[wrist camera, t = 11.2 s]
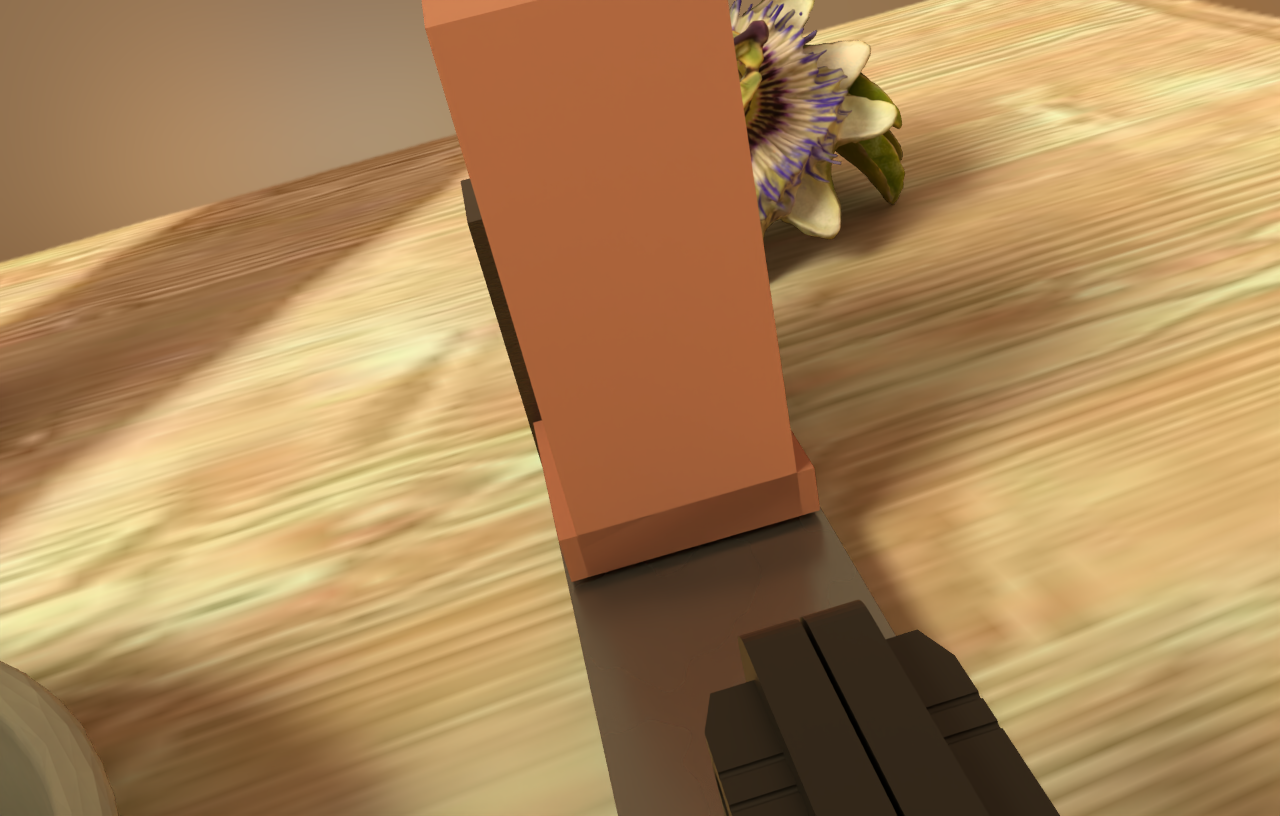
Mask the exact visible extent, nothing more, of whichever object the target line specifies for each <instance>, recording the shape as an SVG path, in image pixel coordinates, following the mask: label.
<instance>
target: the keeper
mask: <svg viewBox="0 0 1280 816" xmlns="http://www.w3.org/2000/svg"><path fill="white" fill-rule="evenodd" d="M422 7H423V15H424V22H425V29H426V33H427V36H428V39H429V43H430V46H431V49H432V53H433V56H434V60H435V63H436V66H437V70H438V73H439V76H440V80H441V83H442V86H443V90H444V93H445V96H446V100H447V103H448V106H449V110H450V113H451V117H452V120H453V123H454V126H455V130H456V133H457V137H458V140H459V143H460V147H461V150H462V153H463V157H464V160H465V163H466V167H467V170H468V174H469V177H470V180H471V184H472V187H473V190H474V194H475V197H476V200H477V204H478V207H479V210H480V214H481V217H482V220H483V224H484V227H485V230H486V234H487V237H488V241H489V244H490V247H491V251H492V254H493V257H494V261H495V264H496V267H497V271H498V274H499V277H500V281H501V284H502V287H503V291H504V294H505V298H506V301H507V304H508V308H509V311H510V314H511V318H512V321H513V324H514V328H515V331H516V334H517V338H518V341H519V344H520V348H521V351H522V354H523V358H524V361H525V365H526V368H527V371H528V375H529V378H530V381H531V385H532V388H533V391H534V395H535V398H536V401H537V405H538V408H539V411H540V415H541V418H542V420H541V421H538V422H534V423H533V425H534V429H535V434H536V438H537V443H538V448H539V452H540V457H541V461H542V466H543V471H544V475H545V480H546V484H547V489H548V494H549V498H550V503H551V508H552V512H553V517H554V521H555V526H556V531H557V535H558V540H559V543H560V547H561V550H562V553H563V556H564V559H565V563H566V566H567V569H568V572H569V576H570V579H571V582H573V581H577V580H580V579H584V578H587V577H591V576H594V575H598V574H601V573H605V572H608V571H611V570H615V569H618V568H622V567H625V566H629V565H632V564H636V563H639V562H643V561H646V560H649V559H653V558H656V557H660V556H663V555H667V554H670V553H674V552H677V551H681V550H684V549H687V548H691V547H694V546H698V545H701V544H705V543H708V542H712V541H715V540H719V539H722V538H725V537H729V536H732V535H736V534H739V533H743V532H746V531H750V530H753V529H757V528H760V527H763V526H767V525H770V524H774V523H777V522H781V521H784V520H788V519H791V518H795V517H798V516H801V515H805V514H808V513H812V512H815V511H819V510H820V506H819V499H818V491H817V484H816V477H815V469H814V467H813V465H812V463H811V462H810V460H809V458H808V457H807V455H806V453H805V452H804V450H803V449H802V447H801V445H800V444H799V442H798V440H797V439H796V437H795V436H794V434H793V432H792V431H791V429H790V422H789V415H788V408H787V401H786V395H785V388H784V381H783V374H782V367H781V360H780V354H779V347H778V340H777V333H776V326H775V319H774V313H773V306H772V299H771V292H770V285H769V278H768V272H767V265H766V258H765V251H764V244H763V237H762V231H761V224H760V217H759V210H758V203H757V196H756V190H755V183H754V176H753V169H752V162H751V155H750V149H749V142H748V135H747V128H746V121H745V114H744V108H743V101H742V94H741V87H740V80H739V73H738V67H737V60H736V53H735V46H734V39H733V32H732V26H731V19H730V12H729V5H728V0H422Z"/></svg>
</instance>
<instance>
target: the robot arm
mask: <svg viewBox="0 0 1280 816" xmlns="http://www.w3.org/2000/svg"><path fill="white" fill-rule="evenodd" d="M738 645H739V650H740V655H741V660H742V664H743V669H744V674H745V679H746V683H743V684H739V685H736V686H733V687H730V688H726V689H723V690H720V691H716V692H713V693H710V698H709V705H708V712H707V719H706V725H705V732H704V734H705V738H706V742H707V746H708V750H709V754H710V758H711V762H712V766H713V770H714V774H715V778H716V783H717V787H718V791H719V795H720V799H721V803H722V807H723V811H724V815H725V816H1060V815H1059V813H1058V812H1057V810H1056V809H1055V807H1054V806H1053V804H1052V803H1051V801H1050V800H1049V798H1048V797H1047V795H1046V794H1045V792H1044V791H1043V789H1042V788H1041V786H1040V784H1039V783H1038V781H1037V780H1036V778H1035V777H1034V775H1033V774H1032V772H1031V771H1030V769H1029V768H1028V766H1027V765H1026V763H1025V762H1024V760H1023V759H1022V757H1021V756H1020V754H1019V753H1018V751H1017V750H1016V748H1015V746H1014V745H1013V743H1012V742H1011V740H1010V739H1009V737H1008V736H1007V734H1006V733H1005V731H1004V730H1003V728H1000V727H999V725H998V721H997V719H996V718H995V716H994V715H993V713H992V711H991V710H990V708H989V707H988V705H987V704H986V702H985V701H984V699H983V698H982V699H981V698H980V696H979V693H978V690H977V689H976V687H975V686H974V684H973V683H972V681H971V680H970V678H969V676H968V675H967V673H966V672H965V670H964V669H963V667H962V666H961V664H960V663H959V661H958V660H957V658H956V657H955V655H953V654H952V653H950V652H949V651H948V650H946V649H945V648H943V647H942V646H940V645H939V644H937V643H936V642H935V641H933V640H932V639H930V638H929V637H927V636H926V635H924V634H923V633H922V632H920V631H919V630H915V631H911V632H908V633H905V634H901V635H898V636H895V637H892V638H888V639H885V637H884V636H883V634H882V632H881V631H880V629H879V627H878V625H877V624H876V622H875V620H874V619H873V617H872V615H871V614H870V612H869V610H868V609H867V607H866V606H865V604H864V603H863V602H862V601H861V600H859V599H858V600H855V601H852V602H848V603H845V604H842V605H838V606H835V607H832V608H829V609H825V610H822V611H819V612H815V613H812V614H809V615H805V616H802V617H800V621H799V620H798V619H793V620H790V621H787V622H783V623H780V624H777V625H773V626H770V627H767V628H764V629H760V630H757V631H754V632H750V633H747V634H744V635H740V636H738Z"/></svg>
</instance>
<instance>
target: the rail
mask: <svg viewBox="0 0 1280 816" xmlns="http://www.w3.org/2000/svg"><path fill="white" fill-rule="evenodd" d="M461 186H462V192H463V198H464V204H465V210H466V216H467V222H468V226H469V229H470V232H471V235H472V239H473V242H474V245H475V248H476V252H477V255H478V258H479V261H480V265H481V268H482V271H483V275H484V278H485V281H486V284H487V288H488V291H489V294H490V297H491V301H492V304H493V307H494V310H495V314H496V317H497V320H498V323H499V327H500V330H501V333H502V336H503V340H504V343H505V346H506V349H507V353H508V356H509V359H510V362H511V366H512V369H513V372H514V376H515V379H516V382H517V385H518V389H519V392H520V395H521V398H522V402H523V405H524V408H525V411H526V415H527V418H528V421H529V424H530V428H531V431H532V434H533V437H534V441H535V444H536V447H537V450H538V454H539V457H540V452H539V448H538V443H537V438H536V434H535V429H534V425H533V423H534V422H538V421H541V420H542V418H541V415H540V411H539V408H538V405H537V401H536V398H535V395H534V391H533V388H532V385H531V381H530V378H529V375H528V371H527V368H526V365H525V361H524V358H523V354H522V351H521V348H520V344H519V341H518V338H517V334H516V331H515V328H514V324H513V321H512V318H511V314H510V311H509V308H508V304H507V301H506V298H505V294H504V291H503V287H502V284H501V281H500V277H499V274H498V271H497V267H496V264H495V261H494V257H493V254H492V251H491V247H490V244H489V241H488V237H487V234H486V230H485V227H484V224H483V220H482V217H481V214H480V210H479V207H478V204H477V200H476V197H475V194H474V190H473V187H472V184H471V180H470V179H466V180H462V181H461ZM540 460H541V457H540ZM541 463H542V461H541ZM542 467H543V466H542ZM544 476H545V475H544ZM546 485H547V484H546ZM547 490H548V489H547ZM549 499H550V498H549ZM552 513H553V512H552ZM554 522H555V521H554ZM557 536H558V535H557ZM559 545H560V543H559ZM560 550H561V547H560ZM561 554H562V559H563V563H564V568H565V573H566V577H567V582H568V586H569V591H570V596H571V600H572V605H573V610H574V614H575V619H576V623H577V628H578V633H579V637H580V642H581V646H582V651H583V656H584V660H585V665H586V670H587V674H588V679H589V683H590V688H591V693H592V697H593V702H594V706H595V711H596V716H597V720H598V725H599V730H600V734H601V739H602V743H603V748H604V753H605V757H606V762H607V766H608V771H609V776H610V780H611V785H612V790H613V794H614V799H615V803H616V808H617V813H618V816H725V815H724V811H723V807H722V803H721V799H720V795H719V791H718V787H717V783H716V778H715V774H714V770H713V766H712V762H711V758H710V754H709V750H708V746H707V742H706V738H705V734H704V732H705V725H706V719H707V712H708V705H709V698H710V693H713V692H716V691H720V690H723V689H726V688H730V687H733V686H736V685H739V684H743V683H746V679H745V674H744V669H743V664H742V660H741V655H740V650H739V645H738V636H740V635H744V634H747V633H750V632H754V631H757V630H760V629H764V628H767V627H770V626H773V625H777V624H780V623H783V622H787V621H790V620H793V619H798V620H799V621H800V617H802V616H805V615H809V614H812V613H815V612H819V611H822V610H825V609H829V608H832V607H835V606H838V605H842V604H845V603H848V602H852V601H855V600H858V599H859V600H861V601H862V602H863V603H864V604H865V606H866V607H867V609H868V610H869V612H870V614H871V615H872V617H873V619H874V620H875V622H876V624H877V625H878V627H879V629H880V631H881V632H882V634H883V636H884V637H885V639H888V638H892V637H895V636H896V635H895V634H894V632H893V630H892V629H891V627H890V625H889V623H888V622H887V620H886V618H885V617H884V615H883V613H882V612H881V610H880V608H879V606H878V605H877V603H876V601H875V600H874V598H873V596H872V595H871V593H870V591H869V589H868V588H867V586H866V584H865V583H864V581H863V579H862V578H861V576H860V574H859V572H858V571H857V569H856V567H855V566H854V564H853V562H852V561H851V559H850V557H849V555H848V554H847V552H846V550H845V549H844V547H843V545H842V544H841V542H840V540H839V538H838V537H837V535H836V533H835V532H834V530H833V528H832V527H831V525H830V523H829V521H828V520H827V518H826V516H825V515H824V513H823V511H822V510H821V508H820V510H819V511H815V512H812V513H808V514H805V515H801V516H798V517H795V518H791V519H788V520H784V521H781V522H777V523H774V524H770V525H767V526H763V527H760V528H757V529H753V530H750V531H746V532H743V533H739V534H736V535H732V536H729V537H725V538H722V539H719V540H715V541H712V542H708V543H705V544H701V545H698V546H694V547H691V548H687V549H684V550H681V551H677V552H674V553H670V554H667V555H663V556H660V557H656V558H653V559H649V560H646V561H643V562H639V563H636V564H632V565H629V566H625V567H622V568H618V569H615V570H611V571H608V572H605V573H601V574H598V575H594V576H591V577H587V578H584V579H580V580H577V581H573V582H571V579H570V576H569V572H568V569H567V566H566V563H565V559H564V556H563V553H562V550H561Z"/></svg>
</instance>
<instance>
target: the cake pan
mask: <svg viewBox="0 0 1280 816" xmlns="http://www.w3.org/2000/svg"><path fill="white" fill-rule="evenodd" d="M0 816H118V812H117V807H116V802H115V798H114V794H113V791H112V789H111V786H110V784H109V781H108V779H107V776H106V773H105V770H104V767H103V764H102V761H101V760H100V758H99V757H98V755H97V754H96V752H95V750H94V747H93V745H92V743H91V741H90V740H89V739H88V738H87V735H86V731H85V729H84V728H83V726H82V724H81V723H80V722H79V721H78V720H77V719H76V718H75V717H74V715H73V714H72V713H71V712H70V711H69V710H68V709H67V708H66V707H65V705H64V704H63V703H62V702H61V701H60V700H59V699H58V698H56V697H55V696H54V695H53V694H52V693H51V692H49V691H48V690H47V689H45V688H44V687H43V686H41V685H40V684H38V683H37V682H36V681H34V680H33V679H31V678H30V677H29V676H28V675H27V674H25V673H23V672H21V671H19V670H18V669H16V668H14V667H11V666H9V665H7V664H5V663H3V662H1V661H0Z"/></svg>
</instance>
